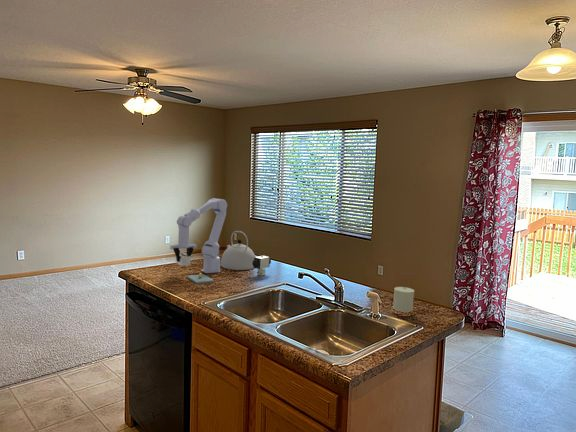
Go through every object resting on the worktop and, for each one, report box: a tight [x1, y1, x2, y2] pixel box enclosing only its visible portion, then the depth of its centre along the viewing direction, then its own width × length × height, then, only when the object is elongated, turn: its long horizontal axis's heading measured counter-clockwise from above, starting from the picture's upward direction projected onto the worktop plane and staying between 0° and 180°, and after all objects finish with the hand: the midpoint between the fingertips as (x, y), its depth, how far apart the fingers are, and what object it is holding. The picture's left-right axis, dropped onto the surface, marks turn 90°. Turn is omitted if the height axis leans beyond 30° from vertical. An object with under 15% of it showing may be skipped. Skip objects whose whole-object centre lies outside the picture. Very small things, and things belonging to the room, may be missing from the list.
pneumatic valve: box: [252, 255, 272, 277], centre depth 258 cm, size 6×12×12 cm, turn 141°
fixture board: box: [186, 273, 215, 285], centre depth 240 cm, size 10×14×1 cm
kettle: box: [220, 230, 256, 271], centre depth 278 cm, size 25×23×23 cm
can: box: [392, 286, 415, 312], centre depth 202 cm, size 9×9×12 cm
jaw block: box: [175, 252, 192, 267], centre depth 244 cm, size 5×10×5 cm, turn 33°
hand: (183, 261), depth 244 cm, fingers closed on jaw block, 5 cm apart
